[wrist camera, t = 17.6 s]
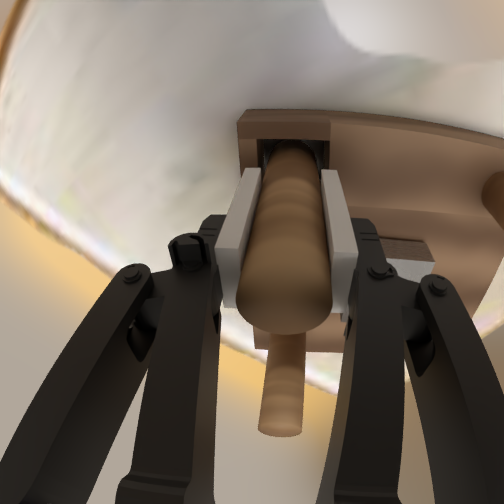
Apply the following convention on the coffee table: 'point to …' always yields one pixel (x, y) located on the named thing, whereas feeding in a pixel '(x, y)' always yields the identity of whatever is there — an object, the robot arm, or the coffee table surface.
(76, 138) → the coffee table surface
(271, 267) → the loose leg
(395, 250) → the keeper bar
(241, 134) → the stool
